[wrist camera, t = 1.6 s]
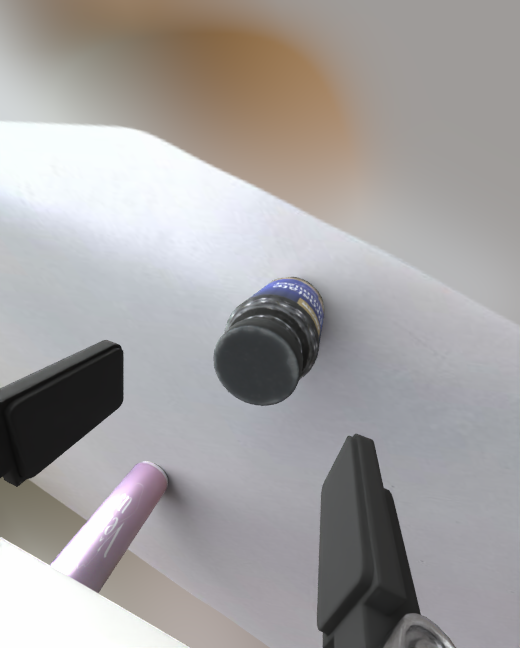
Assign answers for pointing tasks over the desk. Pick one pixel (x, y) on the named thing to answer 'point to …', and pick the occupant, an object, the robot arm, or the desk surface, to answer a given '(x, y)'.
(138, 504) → the beverage can
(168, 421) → the desk surface
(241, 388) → the pill bottle
